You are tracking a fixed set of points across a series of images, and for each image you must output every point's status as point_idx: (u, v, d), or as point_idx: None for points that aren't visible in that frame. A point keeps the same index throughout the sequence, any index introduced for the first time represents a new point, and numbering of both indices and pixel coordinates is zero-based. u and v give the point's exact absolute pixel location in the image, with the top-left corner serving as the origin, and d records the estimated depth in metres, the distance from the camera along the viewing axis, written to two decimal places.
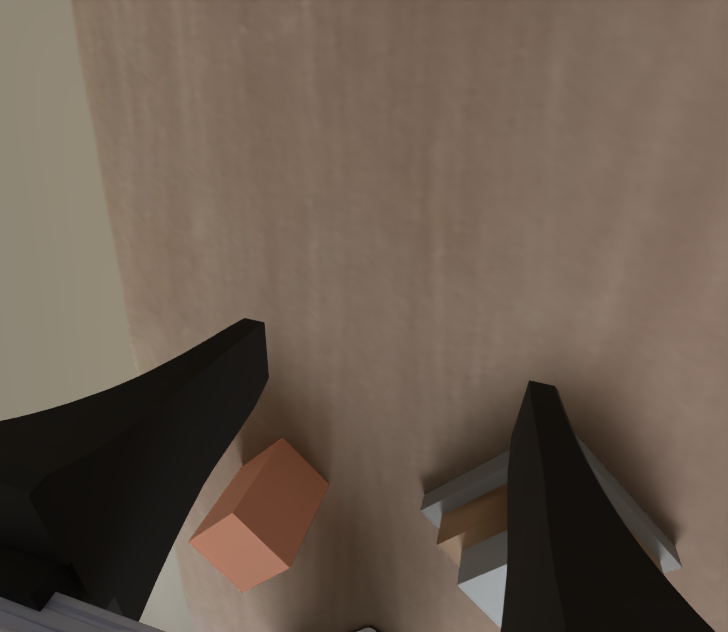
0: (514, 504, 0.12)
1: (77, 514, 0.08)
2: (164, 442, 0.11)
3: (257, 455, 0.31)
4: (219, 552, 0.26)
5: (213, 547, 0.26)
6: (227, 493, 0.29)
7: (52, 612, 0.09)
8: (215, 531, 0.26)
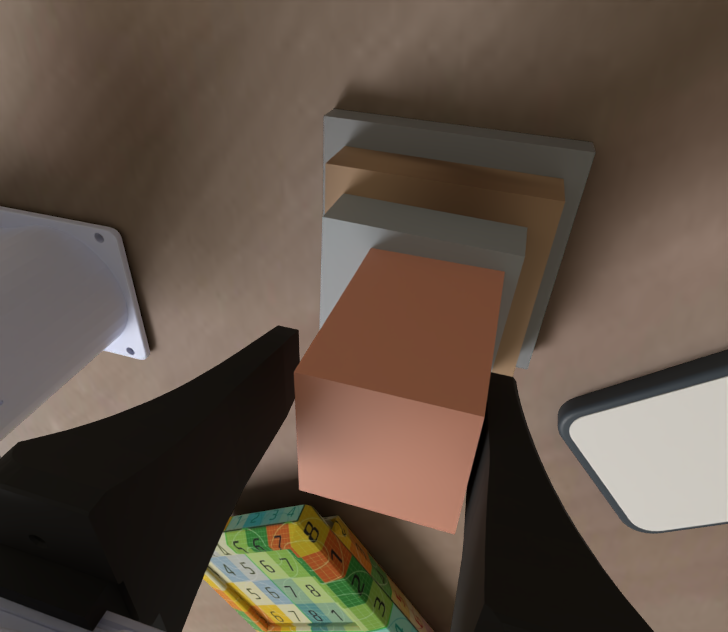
0: (470, 492, 0.12)
1: (129, 531, 0.08)
2: (207, 454, 0.10)
3: (421, 257, 0.15)
4: (343, 430, 0.11)
5: (342, 417, 0.11)
6: (373, 304, 0.13)
7: (52, 612, 0.09)
8: (389, 406, 0.11)
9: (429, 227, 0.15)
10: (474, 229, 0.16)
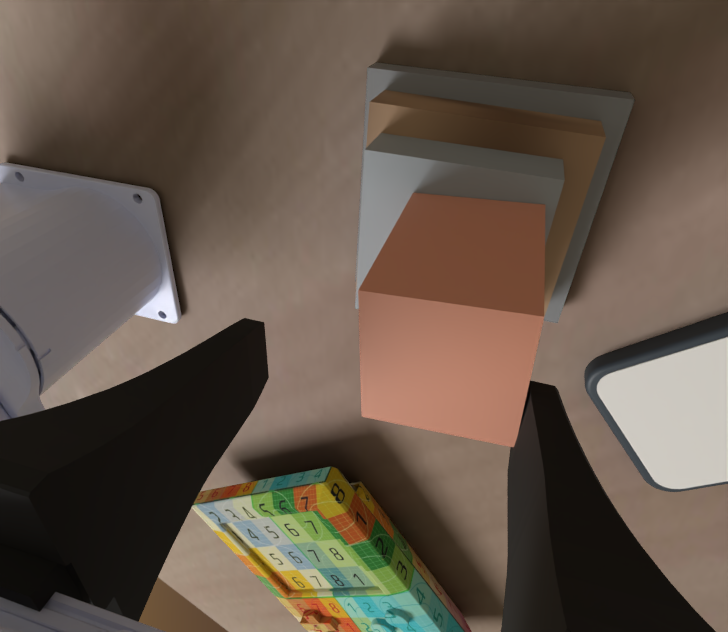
0: (514, 504, 0.12)
1: (77, 514, 0.08)
2: (164, 442, 0.11)
3: (463, 198, 0.16)
4: (405, 347, 0.12)
5: (404, 333, 0.12)
6: (423, 236, 0.14)
7: (51, 611, 0.09)
8: (451, 315, 0.11)
9: (468, 158, 0.16)
10: (512, 160, 0.16)
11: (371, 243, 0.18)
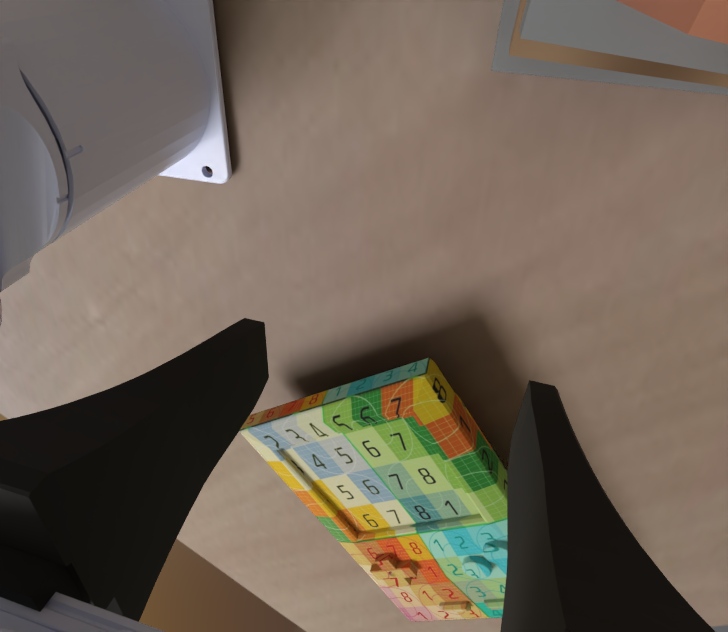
0: (514, 504, 0.12)
1: (77, 514, 0.08)
2: (164, 442, 0.11)
3: None
4: None
5: None
6: None
7: (52, 611, 0.09)
8: None
9: None
10: None
11: None
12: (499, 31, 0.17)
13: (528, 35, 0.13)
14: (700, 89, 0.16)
